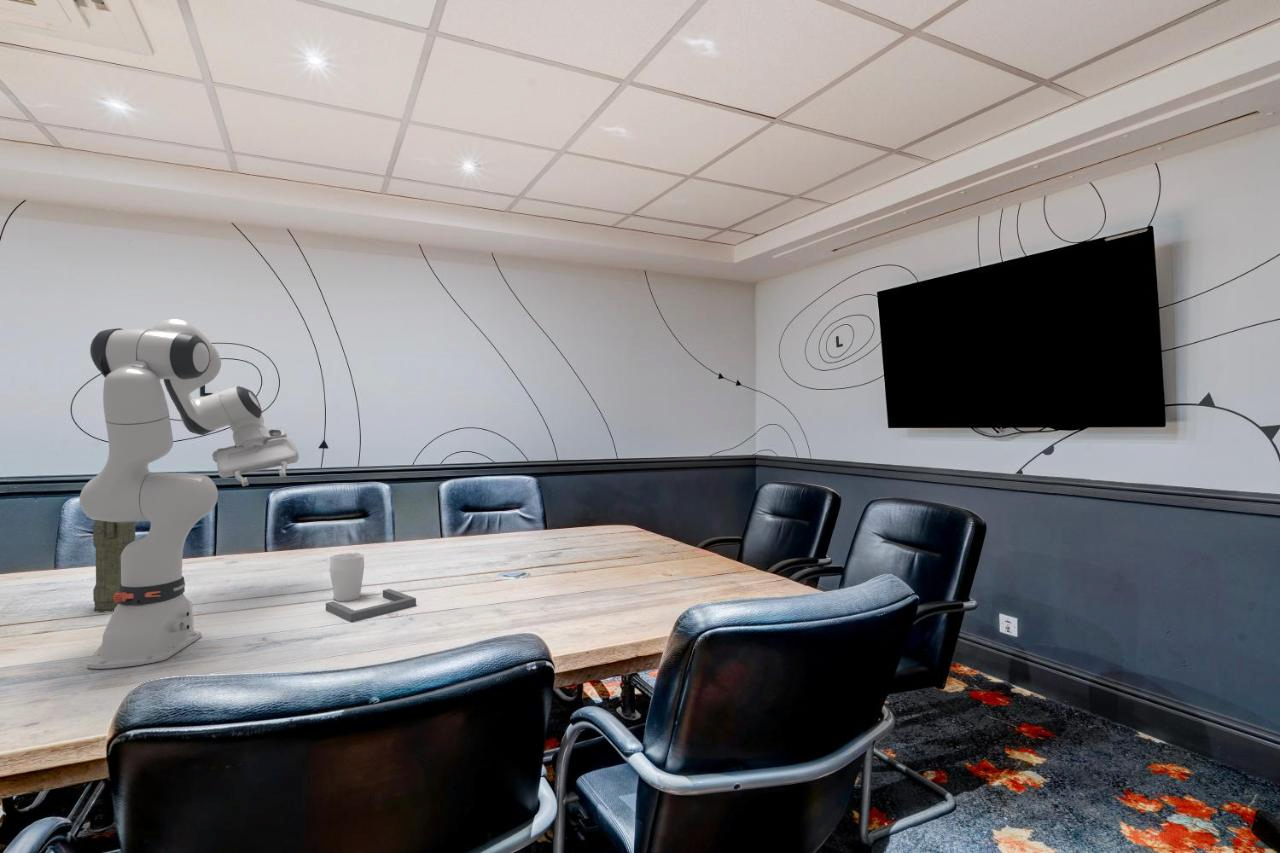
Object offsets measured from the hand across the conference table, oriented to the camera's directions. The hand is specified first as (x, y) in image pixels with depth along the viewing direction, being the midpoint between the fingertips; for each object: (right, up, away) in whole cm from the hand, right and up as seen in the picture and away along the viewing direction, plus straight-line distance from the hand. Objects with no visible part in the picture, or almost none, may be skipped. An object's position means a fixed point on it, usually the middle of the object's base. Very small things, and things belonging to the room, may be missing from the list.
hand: (264, 480), depth 176 cm
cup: (+23, -34, +1) cm, 41 cm away
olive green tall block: (-36, -34, -8) cm, 50 cm away
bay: (+34, -34, -8) cm, 49 cm away
